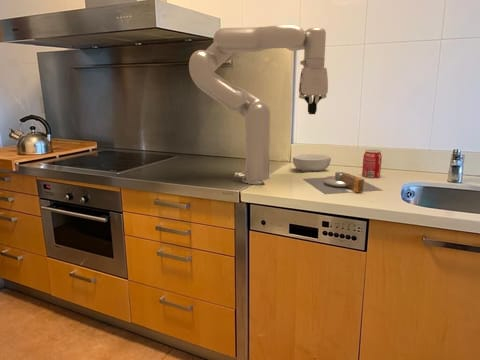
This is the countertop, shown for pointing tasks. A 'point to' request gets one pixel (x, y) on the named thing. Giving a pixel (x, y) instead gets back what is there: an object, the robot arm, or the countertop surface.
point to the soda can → (372, 164)
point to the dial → (345, 181)
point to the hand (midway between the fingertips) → (311, 114)
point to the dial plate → (329, 189)
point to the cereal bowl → (311, 162)
